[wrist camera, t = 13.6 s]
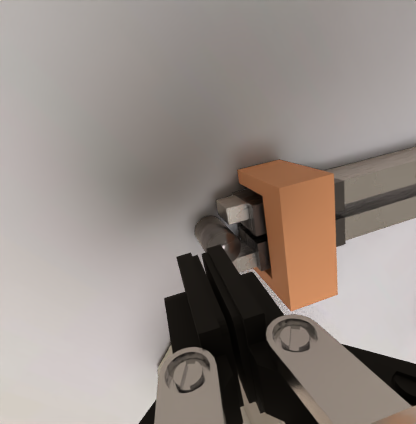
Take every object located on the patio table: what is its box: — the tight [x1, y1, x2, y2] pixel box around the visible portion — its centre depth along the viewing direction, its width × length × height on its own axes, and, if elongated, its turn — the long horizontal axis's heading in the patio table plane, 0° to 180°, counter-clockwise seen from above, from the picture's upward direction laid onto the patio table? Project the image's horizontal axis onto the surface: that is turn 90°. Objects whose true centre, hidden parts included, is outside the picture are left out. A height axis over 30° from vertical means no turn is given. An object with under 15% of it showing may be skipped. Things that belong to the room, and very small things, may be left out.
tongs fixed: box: [195, 147, 416, 262], centre depth 20 cm, size 19×3×3 cm, turn 100°
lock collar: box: [237, 160, 338, 311], centre depth 18 cm, size 3×7×5 cm, turn 10°
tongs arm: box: [232, 184, 416, 272], centre depth 20 cm, size 17×2×3 cm, turn 100°
